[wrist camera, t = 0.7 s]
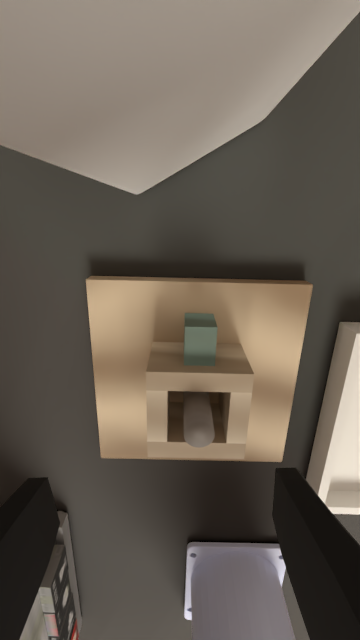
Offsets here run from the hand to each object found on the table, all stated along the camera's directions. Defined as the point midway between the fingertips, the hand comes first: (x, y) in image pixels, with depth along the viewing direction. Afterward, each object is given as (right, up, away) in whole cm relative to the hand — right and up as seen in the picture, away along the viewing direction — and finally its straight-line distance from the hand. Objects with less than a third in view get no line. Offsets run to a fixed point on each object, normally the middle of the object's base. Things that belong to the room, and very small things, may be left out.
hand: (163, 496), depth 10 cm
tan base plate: (+1, +2, +9) cm, 10 cm away
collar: (+1, +2, +8) cm, 9 cm away
